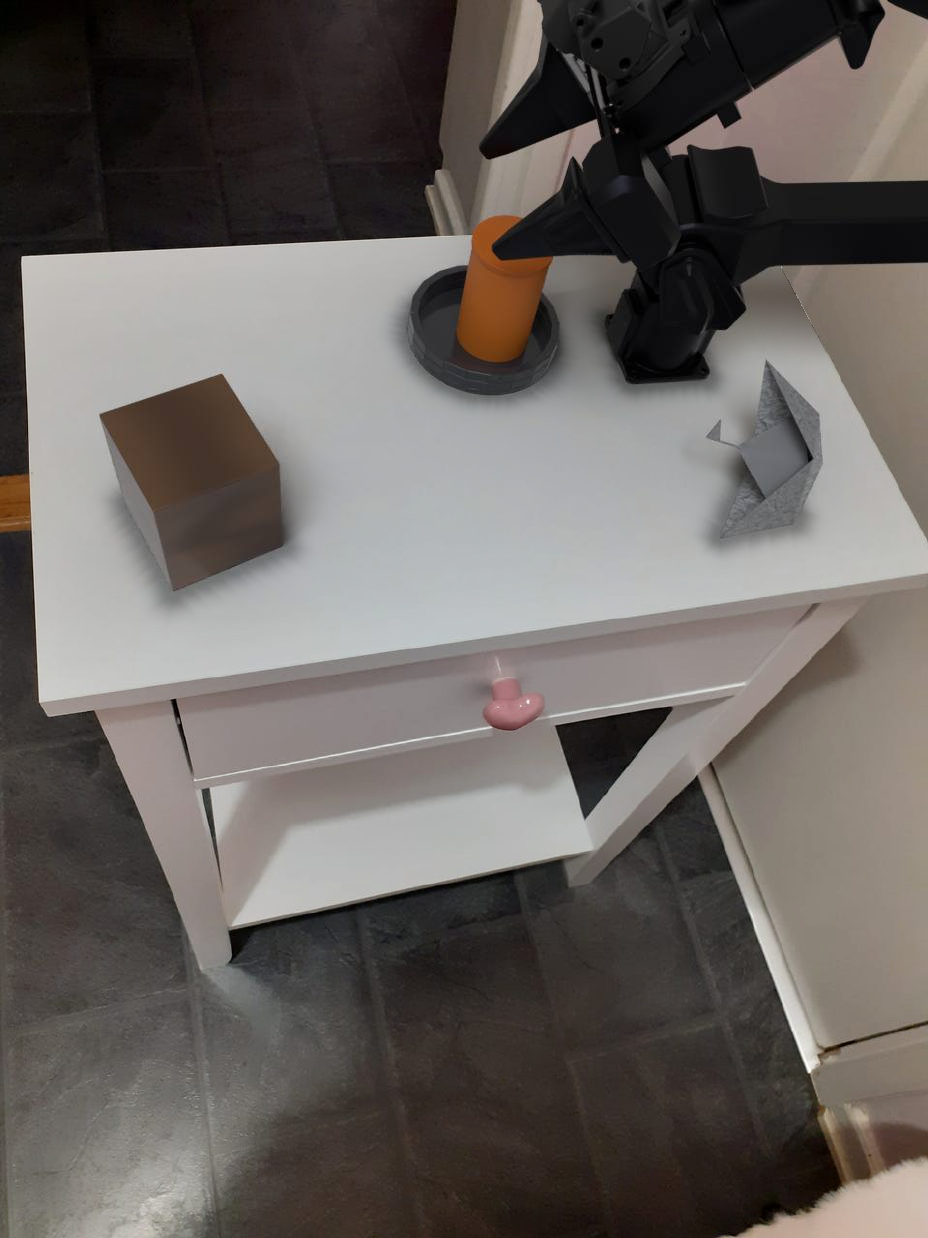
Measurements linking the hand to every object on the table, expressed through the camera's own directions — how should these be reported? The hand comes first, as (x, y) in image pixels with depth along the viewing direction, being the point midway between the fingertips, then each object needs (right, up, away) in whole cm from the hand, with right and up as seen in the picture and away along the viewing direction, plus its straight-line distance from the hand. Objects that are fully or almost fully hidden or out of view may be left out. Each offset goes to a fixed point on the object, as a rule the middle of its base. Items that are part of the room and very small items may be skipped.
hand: (488, 201), depth 56 cm
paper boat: (+18, -16, +8) cm, 25 cm away
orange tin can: (+1, -5, +10) cm, 11 cm away
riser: (-17, -20, -1) cm, 26 cm away
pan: (0, -5, +10) cm, 11 cm away
